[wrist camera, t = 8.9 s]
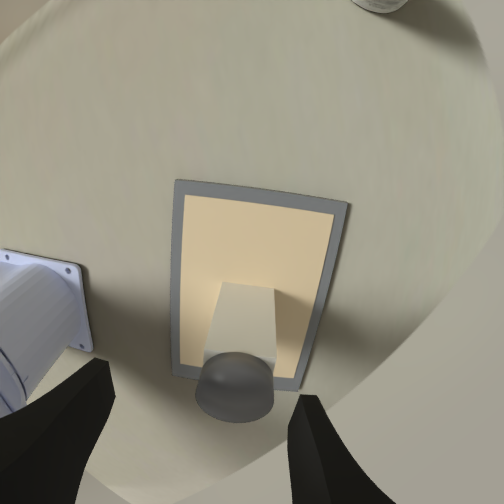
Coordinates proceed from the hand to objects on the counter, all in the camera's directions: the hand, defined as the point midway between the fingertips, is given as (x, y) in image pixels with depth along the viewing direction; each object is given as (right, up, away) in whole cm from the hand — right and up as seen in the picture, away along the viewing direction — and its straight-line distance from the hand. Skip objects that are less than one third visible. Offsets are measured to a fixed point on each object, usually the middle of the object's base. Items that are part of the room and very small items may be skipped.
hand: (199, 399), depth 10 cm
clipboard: (+2, +2, +10) cm, 10 cm away
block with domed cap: (+1, +2, +9) cm, 10 cm away
